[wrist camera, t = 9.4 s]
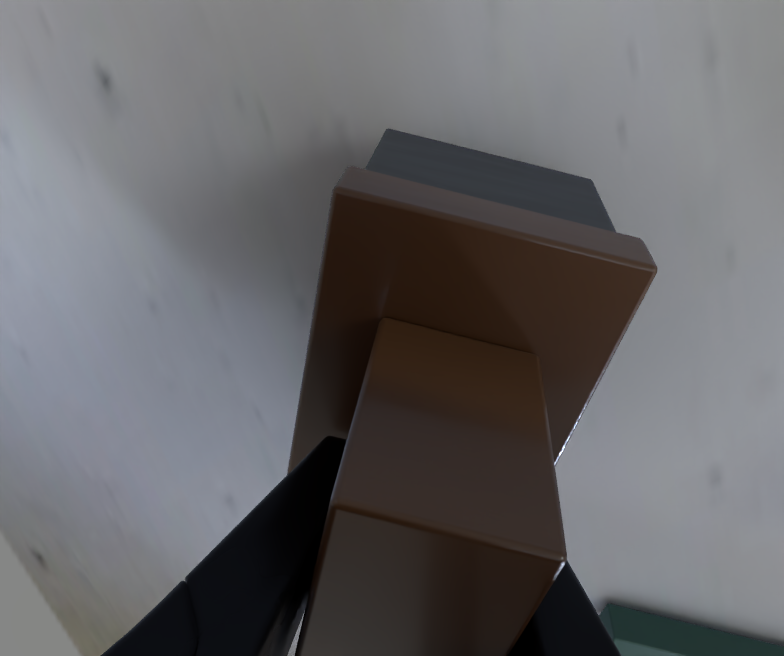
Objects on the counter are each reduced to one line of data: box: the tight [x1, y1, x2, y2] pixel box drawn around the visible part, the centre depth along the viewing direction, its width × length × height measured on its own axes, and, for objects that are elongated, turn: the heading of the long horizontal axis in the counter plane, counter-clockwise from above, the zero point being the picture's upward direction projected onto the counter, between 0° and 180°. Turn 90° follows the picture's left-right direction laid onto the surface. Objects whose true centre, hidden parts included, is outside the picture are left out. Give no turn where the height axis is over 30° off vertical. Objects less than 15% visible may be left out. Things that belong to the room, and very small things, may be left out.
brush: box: [287, 129, 657, 656], centre depth 10 cm, size 8×4×8 cm, turn 168°
